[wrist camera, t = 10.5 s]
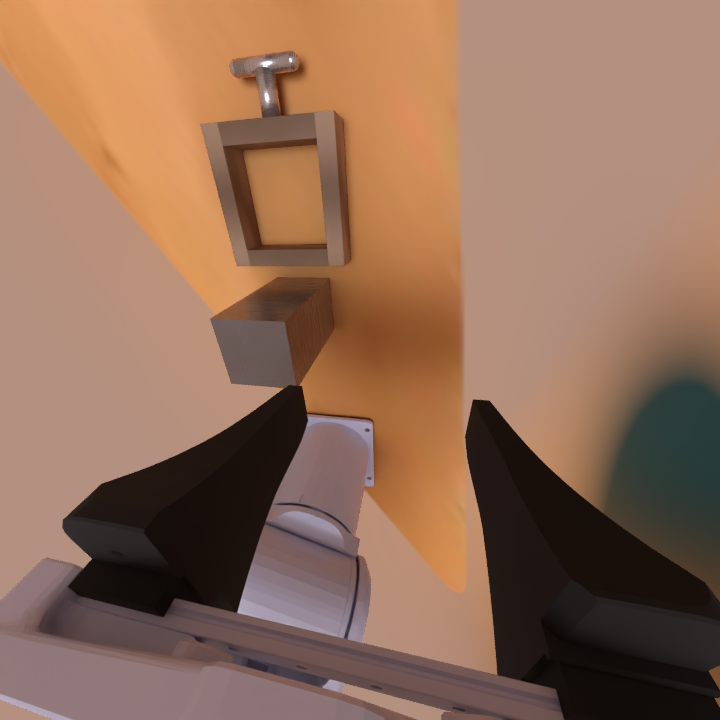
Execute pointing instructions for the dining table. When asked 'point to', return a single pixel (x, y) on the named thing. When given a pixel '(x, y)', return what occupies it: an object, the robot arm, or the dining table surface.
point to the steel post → (275, 331)
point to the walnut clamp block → (273, 133)
